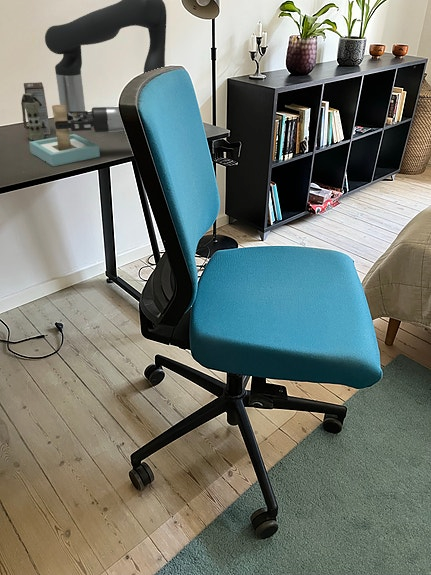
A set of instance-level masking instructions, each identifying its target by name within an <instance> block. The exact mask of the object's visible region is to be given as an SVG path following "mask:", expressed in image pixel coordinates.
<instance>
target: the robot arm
mask: <svg viewBox="0 0 431 575" xmlns="http://www.w3.org/2000/svg"><path fill="white" fill-rule="evenodd" d="M133 26H134V27H135V26H136V27H142V28H144V29H145V28H146V29H147V30H148V35H149V36H148V37H149V47H148V52H147V55H146V58H145V62H144V66H143V74H144V73H145V72H148V71H151V70H154V69H157V68H161V67H165V68H166V61H165V60H166V59H165V58H166V39H167V37H166V35H167V8H166V4H165V2H164V1H163V0H120V1H118V2H116V3H113V4H111V5H110V4H109V5H107V6H105V7H102V8H99V9H97V10H93V11H92V12H89V13H86V14H84V15H82V16H80V17H78V18H76V19H73V20H72V21H70V22H66V23H63V24H58V25H57V24H56V25H51V26H50V27H48V28H47V30H46V32H45V34H44V43H45V45H46V47H47V49H48V50H49V51H51V52H52V53H53V54H55V55H62V58H61V60H60V61H59V62H58V63H56V64H55V66H54V69H55V76H56V78H55V79H56V84H57V91H58V100H59V105H65V106H66V112H67V120H68V122H67V121H55V123H54V129H55V128H56V129H68V128H69V131H70V132H83V131H92V127H93V131H94V133H117V132H121V131H124V128H123V124H122V121H121V118H120V115H119V110H118V106H101V107H100V106H98V107H97V106H95V107H92V108H91V114H90V113H89V112H88V111H87V110H86V104H85V96H84V94H85V93H84V86H83V78H82V64H83V58H82V46H88V45H89V46H90V45H96V44H100V43H105V42H108V41H110V40H112V39H114V38H116V37H117V35H118V34H119V32H120V30H121V29H123V28H128V27H133Z"/></svg>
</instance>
